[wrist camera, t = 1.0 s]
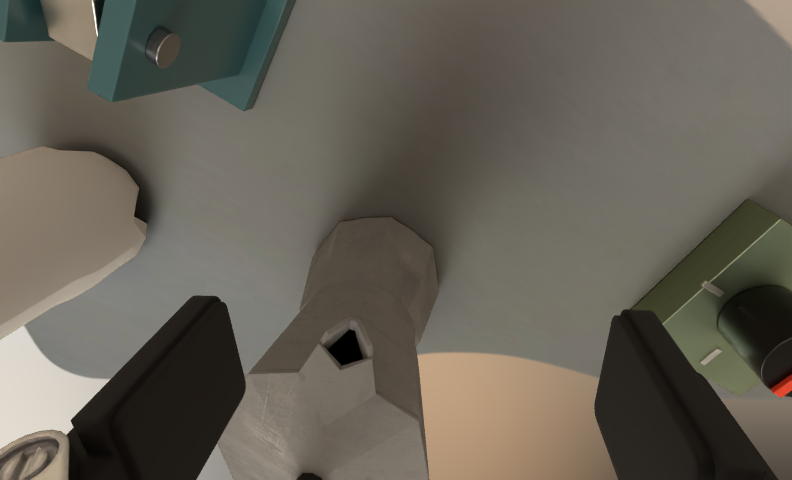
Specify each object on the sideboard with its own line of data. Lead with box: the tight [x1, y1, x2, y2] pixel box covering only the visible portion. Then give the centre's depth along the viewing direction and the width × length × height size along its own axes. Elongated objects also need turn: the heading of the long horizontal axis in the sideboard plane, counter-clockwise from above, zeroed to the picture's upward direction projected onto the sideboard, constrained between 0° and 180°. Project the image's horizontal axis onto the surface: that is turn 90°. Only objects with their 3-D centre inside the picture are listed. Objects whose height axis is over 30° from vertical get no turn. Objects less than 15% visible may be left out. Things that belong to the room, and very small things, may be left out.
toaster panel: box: [631, 200, 792, 396], centre depth 27 cm, size 10×9×3 cm
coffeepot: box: [217, 217, 439, 480], centre depth 24 cm, size 15×9×18 cm, turn 166°
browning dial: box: [718, 286, 792, 397], centre depth 24 cm, size 4×4×4 cm
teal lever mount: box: [0, 0, 295, 111], centre depth 20 cm, size 8×7×12 cm
